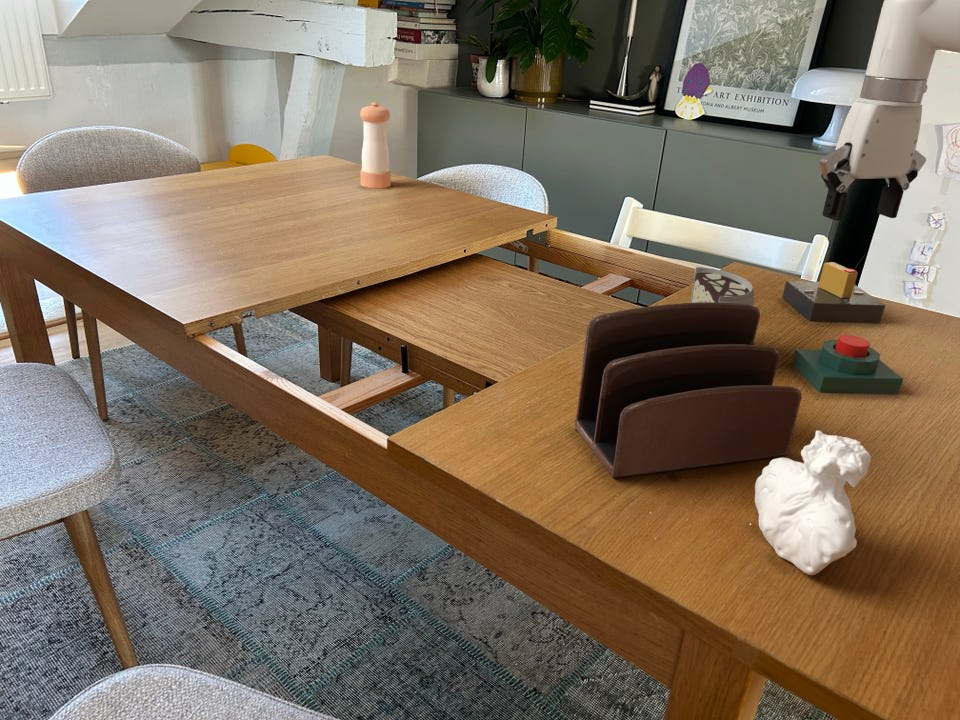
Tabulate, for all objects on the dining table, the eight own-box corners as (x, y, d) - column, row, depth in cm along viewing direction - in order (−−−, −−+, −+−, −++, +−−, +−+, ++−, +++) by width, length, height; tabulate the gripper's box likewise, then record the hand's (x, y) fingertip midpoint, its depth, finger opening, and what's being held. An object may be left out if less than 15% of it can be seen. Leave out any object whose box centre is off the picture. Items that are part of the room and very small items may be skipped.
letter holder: (572, 428, 79) (587, 305, 73) (733, 410, 84) (759, 295, 78) (612, 481, 70) (632, 347, 64) (788, 458, 75) (823, 332, 69)
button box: (864, 365, 97) (872, 338, 95) (898, 394, 90) (908, 365, 88) (791, 364, 96) (798, 336, 95) (819, 392, 89) (827, 363, 87)
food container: (754, 374, 93) (771, 300, 89) (705, 372, 93) (721, 298, 89) (725, 335, 104) (740, 267, 100) (682, 333, 104) (695, 265, 100)
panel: (847, 299, 120) (852, 281, 119) (879, 323, 111) (885, 304, 110) (781, 298, 119) (786, 279, 118) (809, 321, 110) (814, 302, 109)
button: (856, 347, 93) (860, 334, 92) (871, 359, 90) (875, 346, 89) (829, 346, 93) (833, 334, 92) (843, 359, 90) (847, 346, 89)
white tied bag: (830, 611, 59) (945, 520, 56) (772, 569, 56) (890, 470, 53) (763, 518, 70) (857, 437, 67) (712, 478, 67) (807, 392, 64)
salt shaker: (393, 188, 177) (393, 104, 168) (362, 188, 175) (361, 104, 166) (388, 181, 183) (387, 100, 175) (358, 181, 181) (357, 100, 173)
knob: (817, 286, 116) (824, 261, 114) (827, 286, 116) (834, 260, 115) (841, 298, 111) (849, 271, 110) (851, 297, 112) (858, 271, 110)
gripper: (920, 90, 105) (887, 208, 112) (819, 88, 100) (792, 212, 107) (965, 95, 98) (927, 221, 106) (860, 94, 93) (827, 226, 101)
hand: (859, 217), depth 106 cm, fingers open, 9 cm apart
